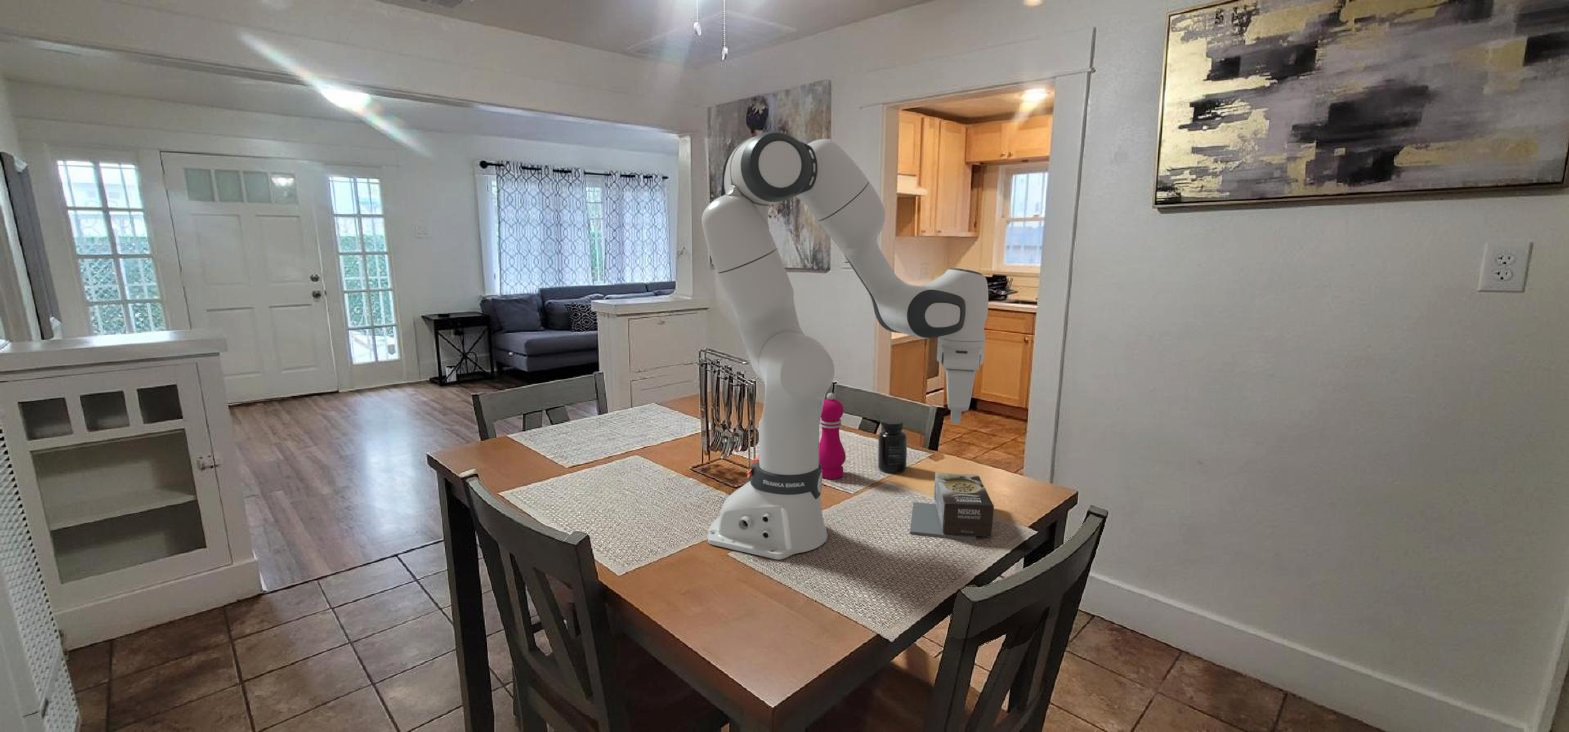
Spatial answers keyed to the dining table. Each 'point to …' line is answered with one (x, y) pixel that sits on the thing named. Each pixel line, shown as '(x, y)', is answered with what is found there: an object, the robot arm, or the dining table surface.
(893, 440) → the supplement bottle
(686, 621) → the dining table surface
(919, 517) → the mat
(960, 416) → the robot arm
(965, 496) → the coffee box
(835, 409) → the pepper mill
